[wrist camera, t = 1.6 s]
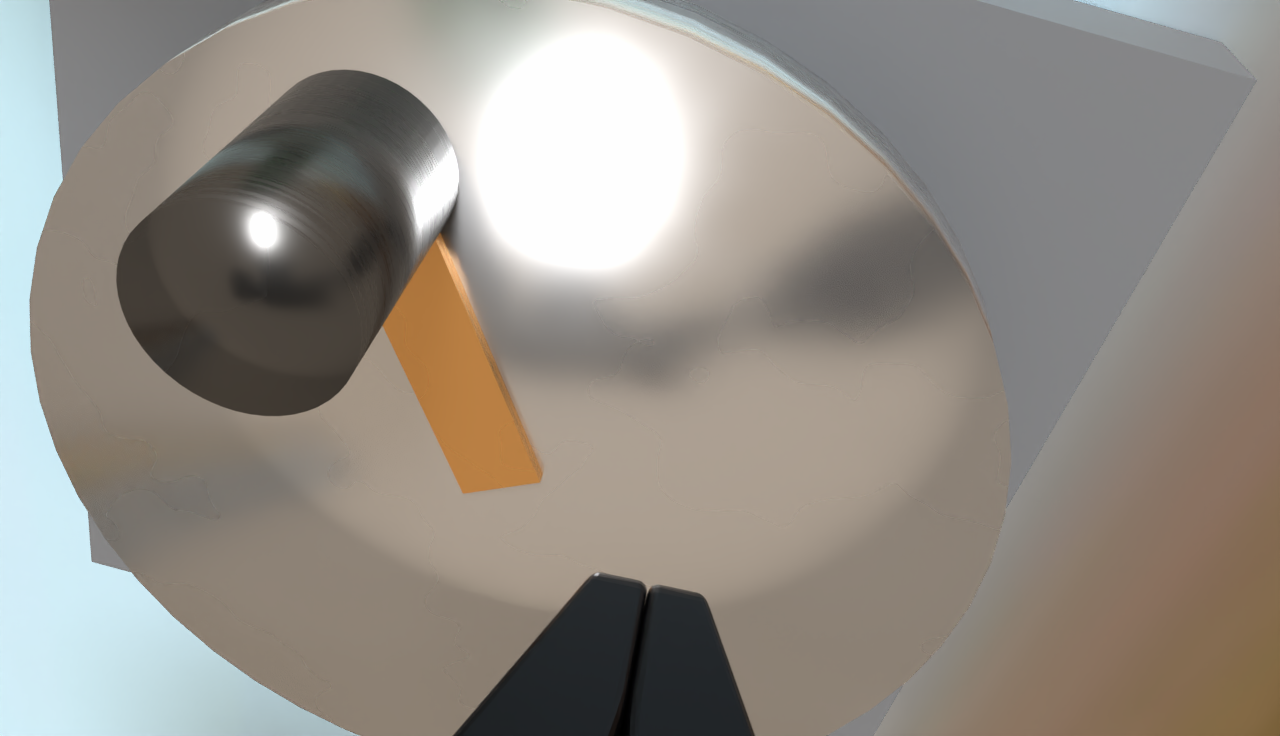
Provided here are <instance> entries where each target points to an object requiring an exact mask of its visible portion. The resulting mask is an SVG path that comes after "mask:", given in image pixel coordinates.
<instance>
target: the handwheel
mask: <svg viewBox="0 0 1280 736" xmlns="http://www.w3.org/2000/svg"><path fill="white" fill-rule="evenodd" d="M30 337H31V355H32V360H33V366H34V371H35V377H36V382H37V388H38V393H39V399H40V403H41V406H42V409H43V412H44V415H45V418H46V421H47V424H48V427H49V430H50V433H51V436H52V439H53V442H54V445H55V448H56V451H57V453H58V455H59V457H60V459H61V461H62V463H63V466H64V468H65V470H66V472H67V474H68V476H69V478H70V480H71V482H72V484H73V486H74V488H75V491H76V493H77V495H78V497H79V498H80V500H81V501H82V503H83V504H84V506H85V508H86V509H87V511H88V512H89V514H90V516H91V517H92V519H93V520H94V522H95V523H96V525H97V527H98V528H99V530H100V531H101V533H102V534H103V536H104V538H105V539H106V541H107V542H108V543H109V544H110V546H111V547H112V548H113V549H114V551H115V552H116V553H117V554H118V556H119V557H120V558H121V559H122V561H123V562H124V563H125V564H126V566H127V567H128V568H129V569H130V571H131V572H132V573H133V574H134V576H135V577H136V578H137V580H138V581H139V582H140V583H141V584H142V585H143V586H144V587H145V588H146V589H147V590H148V591H149V592H150V593H151V594H152V595H153V596H154V597H155V598H156V599H157V600H158V601H159V602H160V603H161V604H162V605H163V606H164V607H165V608H166V609H167V610H168V612H169V613H170V614H171V615H172V616H173V617H174V618H176V619H177V620H178V621H179V622H180V623H181V624H183V625H184V626H185V627H186V628H187V629H188V630H190V631H191V632H192V633H193V634H194V635H195V636H197V637H198V638H199V639H200V640H201V641H202V642H204V643H205V644H206V645H207V646H208V647H209V648H211V649H212V650H213V651H214V652H216V653H217V654H219V655H220V656H221V657H223V658H224V659H226V660H227V661H228V662H230V663H231V664H233V665H234V666H235V667H237V668H238V669H240V670H241V671H242V672H244V673H245V674H247V675H248V676H249V677H251V678H252V679H254V680H255V681H257V682H258V683H260V684H262V685H263V686H265V687H267V688H268V689H270V690H272V691H273V692H275V693H277V694H278V695H280V696H282V697H283V698H285V699H287V700H289V701H290V702H292V703H294V704H295V705H297V706H299V707H300V708H303V709H305V710H307V711H309V712H311V713H313V714H315V715H317V716H319V717H321V718H323V719H325V720H327V721H329V722H331V723H333V724H335V725H337V726H339V727H341V728H343V729H345V730H348V731H350V732H353V733H355V734H358V735H360V736H453V734H454V733H455V732H456V731H457V730H458V729H459V727H460V726H461V725H462V724H463V723H464V722H465V720H466V719H467V718H468V717H469V716H470V715H471V713H472V712H473V711H474V710H475V709H476V708H477V706H478V705H479V704H480V703H481V702H482V701H483V699H484V698H485V697H486V696H487V695H488V694H489V692H490V691H491V690H492V689H493V688H494V687H495V685H496V684H497V683H498V682H499V681H500V680H501V678H502V677H503V676H504V675H505V674H506V673H507V671H508V670H509V669H510V668H511V667H512V666H513V664H514V663H515V662H516V661H517V660H518V659H519V657H520V656H521V655H522V654H523V653H524V652H525V650H526V649H527V648H528V647H529V646H530V645H531V643H532V642H533V641H534V640H535V639H536V638H537V636H538V635H539V634H540V633H541V632H542V631H543V629H544V628H545V627H546V626H547V625H548V624H549V622H550V621H551V620H552V619H553V618H554V616H555V615H556V614H557V613H558V612H559V611H560V609H561V608H562V607H563V606H564V605H565V604H566V602H567V601H568V600H569V599H570V598H571V597H572V595H573V594H574V593H575V592H576V591H577V590H578V588H579V587H580V586H581V585H582V584H583V583H584V581H585V580H586V579H587V578H588V577H590V576H591V575H592V574H594V573H598V572H601V573H606V574H611V575H616V576H621V577H626V578H630V579H635V580H639V581H642V582H643V583H644V584H645V586H646V588H647V593H648V590H649V589H650V588H651V587H652V586H654V585H664V586H669V587H674V588H678V589H683V590H688V591H693V592H697V593H700V594H701V595H702V596H704V597H705V599H706V600H707V602H708V604H709V607H710V609H711V612H712V615H713V618H714V621H715V624H716V626H717V629H718V632H719V635H720V638H721V640H722V643H723V646H724V649H725V652H726V655H727V657H728V660H729V663H730V666H731V669H732V672H733V674H734V677H735V680H736V683H737V686H738V688H739V691H740V694H741V697H742V700H743V703H744V705H745V708H746V711H747V714H748V717H749V720H750V722H751V725H752V728H753V731H754V734H755V736H826V735H829V734H830V733H832V732H834V731H835V730H837V729H839V728H840V727H842V726H844V725H845V724H847V723H849V722H851V721H852V720H854V719H856V718H857V717H859V716H861V715H862V714H864V713H866V712H868V711H869V710H871V709H872V708H873V707H875V706H876V705H877V704H878V703H880V702H881V701H882V700H884V699H885V698H886V697H887V696H889V695H890V694H891V693H893V692H894V691H895V690H896V689H898V688H899V687H900V686H902V685H903V684H904V683H905V682H907V681H908V680H909V679H910V678H911V677H912V676H913V675H914V674H915V673H916V672H917V671H918V670H919V669H920V668H921V666H922V665H923V664H924V663H925V662H926V661H927V660H928V659H929V658H930V657H931V656H932V655H933V654H934V653H935V652H936V651H937V650H938V649H939V648H940V647H941V646H942V644H943V643H944V641H945V640H946V639H947V637H948V636H949V634H950V633H951V632H952V630H953V629H954V627H955V626H956V625H957V623H958V622H959V620H960V619H961V618H962V616H963V615H964V613H965V612H966V611H967V609H968V608H969V606H970V604H971V602H972V600H973V598H974V596H975V594H976V592H977V590H978V588H979V586H980V584H981V582H982V580H983V578H984V576H985V574H986V572H987V570H988V568H989V566H990V563H991V560H992V557H993V554H994V550H995V547H996V544H997V540H998V537H999V534H1000V530H1001V527H1002V523H1003V520H1004V517H1005V512H1006V503H1007V495H1008V486H1009V477H1010V469H1011V448H1010V431H1009V414H1008V403H1007V399H1006V395H1005V390H1004V386H1003V382H1002V377H1001V373H1000V369H999V364H998V360H997V356H996V351H995V347H994V343H993V339H992V334H991V330H990V326H989V321H988V317H987V313H986V309H985V304H984V300H983V297H982V294H981V292H980V289H979V287H978V285H977V282H976V280H975V277H974V275H973V272H972V270H971V267H970V265H969V263H968V260H967V258H966V255H965V253H964V250H963V248H962V245H961V243H960V241H959V239H958V238H957V236H956V234H955V233H954V231H953V229H952V228H951V226H950V224H949V223H948V221H947V219H946V218H945V216H944V214H943V213H942V211H941V209H940V208H939V206H938V204H937V203H936V201H935V199H934V198H933V196H932V194H931V193H930V191H929V189H928V188H927V186H926V185H925V184H924V182H923V181H922V180H921V179H920V177H919V176H918V175H917V174H916V173H915V171H914V170H913V169H912V168H911V167H910V165H909V164H908V163H907V162H906V160H905V159H904V158H903V157H902V156H901V154H900V153H899V152H898V151H897V150H896V148H895V147H894V146H893V145H892V143H891V142H890V141H889V140H888V139H887V137H886V136H885V135H884V134H883V133H882V132H881V131H880V130H879V129H878V128H877V127H876V126H875V125H874V124H873V123H872V122H871V121H869V120H868V119H867V118H866V117H865V116H864V115H863V114H862V113H861V112H860V111H858V110H857V109H856V108H855V107H854V106H853V105H852V104H851V103H850V102H849V101H848V100H846V99H845V98H844V97H843V96H842V95H841V94H840V93H839V92H838V91H837V90H836V89H834V88H833V87H832V86H831V85H830V84H829V83H828V82H826V81H825V80H823V79H822V78H820V77H819V76H818V75H816V74H815V73H813V72H812V71H810V70H809V69H807V68H806V67H805V66H803V65H802V64H800V63H799V62H797V61H796V60H794V59H793V58H792V57H790V56H789V55H787V54H786V53H784V52H783V51H781V50H780V49H779V48H777V47H776V46H774V45H773V44H771V43H770V42H768V41H767V40H765V39H763V38H761V37H759V36H757V35H755V34H753V33H751V32H749V31H748V30H746V29H744V28H742V27H740V26H738V25H736V24H734V23H732V22H730V21H728V20H726V19H724V18H722V17H720V16H718V15H716V14H714V13H712V12H710V11H708V10H707V9H705V8H703V7H701V6H699V5H696V4H693V3H691V2H688V1H685V0H265V1H264V2H262V3H260V4H258V5H257V6H255V7H253V8H252V9H250V10H248V11H246V12H245V13H243V14H241V15H239V16H238V17H236V18H234V19H233V20H231V21H229V22H227V23H226V24H224V25H222V26H221V27H219V28H217V29H215V30H214V31H212V32H210V33H209V34H207V35H206V36H205V37H203V38H202V39H200V40H199V41H197V42H196V43H194V44H193V45H191V46H190V47H189V48H187V49H186V50H184V51H183V52H181V53H180V54H178V55H177V56H175V57H174V58H172V59H171V60H170V61H168V62H167V63H165V64H164V65H163V66H162V67H161V68H159V69H158V70H157V71H156V72H155V73H153V74H152V75H151V76H150V77H149V78H147V79H146V80H145V81H144V82H143V83H141V84H140V85H139V86H138V87H137V88H136V89H134V90H133V91H132V92H131V93H130V94H128V95H127V96H126V97H125V98H124V99H122V100H121V101H120V102H119V103H118V104H117V105H116V106H115V107H114V109H113V110H112V111H111V112H110V114H109V115H108V116H107V117H106V118H105V120H104V121H103V122H102V123H101V124H100V126H99V127H98V128H97V129H96V130H95V132H94V133H93V134H92V135H91V137H90V138H89V139H88V140H87V141H86V143H85V144H84V145H83V146H82V147H81V149H80V151H79V152H78V154H77V156H76V158H75V160H74V161H73V163H72V165H71V167H70V169H69V171H68V172H67V174H66V176H65V178H64V180H63V181H62V183H61V185H60V187H59V189H58V190H57V192H56V194H55V196H54V198H53V201H52V204H51V207H50V210H49V213H48V216H47V219H46V222H45V225H44V228H43V231H42V234H41V237H40V240H39V243H38V246H37V251H36V258H35V265H34V272H33V279H32V286H31V293H30ZM646 597H647V595H646Z"/></svg>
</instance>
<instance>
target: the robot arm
mask: <svg viewBox="0 0 1280 736" xmlns="http://www.w3.org/2000/svg"><path fill="white" fill-rule="evenodd" d="M646 595H647V597H646ZM453 736H755V734H754V731H753V728H752V725H751V722H750V720H749V717H748V714H747V711H746V708H745V705H744V703H743V700H742V697H741V694H740V691H739V688H738V686H737V683H736V680H735V677H734V674H733V672H732V669H731V666H730V663H729V660H728V657H727V655H726V652H725V649H724V646H723V643H722V640H721V638H720V635H719V632H718V629H717V626H716V624H715V621H714V618H713V615H712V612H711V609H710V607H709V604H708V602H707V600H706V599H705V597H704V596H702V595H701V594H700V593H697V592H693V591H688V590H683V589H678V588H674V587H669V586H664V585H654V586H652V587H651V588H650V589H649V590H648V593H647V588H646V586H645V584H644V583H643V582H642V581H639V580H635V579H630V578H626V577H621V576H616V575H611V574H606V573H601V572H598V573H594V574H592V575H591V576H590V577H588V578H587V579H586V580H585V581H584V583H583V584H582V585H581V586H580V587H579V588H578V590H577V591H576V592H575V593H574V594H573V595H572V597H571V598H570V599H569V600H568V601H567V602H566V604H565V605H564V606H563V607H562V608H561V609H560V611H559V612H558V613H557V614H556V615H555V616H554V618H553V619H552V620H551V621H550V622H549V624H548V625H547V626H546V627H545V628H544V629H543V631H542V632H541V633H540V634H539V635H538V636H537V638H536V639H535V640H534V641H533V642H532V643H531V645H530V646H529V647H528V648H527V649H526V650H525V652H524V653H523V654H522V655H521V656H520V657H519V659H518V660H517V661H516V662H515V663H514V664H513V666H512V667H511V668H510V669H509V670H508V671H507V673H506V674H505V675H504V676H503V677H502V678H501V680H500V681H499V682H498V683H497V684H496V685H495V687H494V688H493V689H492V690H491V691H490V692H489V694H488V695H487V696H486V697H485V698H484V699H483V701H482V702H481V703H480V704H479V705H478V706H477V708H476V709H475V710H474V711H473V712H472V713H471V715H470V716H469V717H468V718H467V719H466V720H465V722H464V723H463V724H462V725H461V726H460V727H459V729H458V730H457V731H456V732H455V733H454V734H453Z"/></svg>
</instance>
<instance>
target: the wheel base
mask: <svg viewBox="0 0 1280 736" xmlns="http://www.w3.org/2000/svg"><path fill="white" fill-rule="evenodd" d="M264 1H265V0H49V2H50V15H51V28H52V41H53V55H54V68H55V81H56V94H57V108H58V121H59V134H60V148H61V161H62V174H63V180H64V178H65V176H66V174H67V172H68V171H69V169H70V167H71V165H72V163H73V161H74V160H75V158H76V156H77V154H78V152H79V151H80V149H81V147H82V146H83V145H84V144H85V143H86V141H87V140H88V139H89V138H90V137H91V135H92V134H93V133H94V132H95V130H96V129H97V128H98V127H99V126H100V124H101V123H102V122H103V121H104V120H105V118H106V117H107V116H108V115H109V114H110V112H111V111H112V110H113V109H114V107H115V106H116V105H117V104H118V103H119V102H120V101H121V100H122V99H124V98H125V97H126V96H127V95H128V94H130V93H131V92H132V91H133V90H134V89H136V88H137V87H138V86H139V85H140V84H141V83H143V82H144V81H145V80H146V79H147V78H149V77H150V76H151V75H152V74H153V73H155V72H156V71H157V70H158V69H159V68H161V67H162V66H163V65H164V64H165V63H167V62H168V61H170V60H171V59H172V58H174V57H175V56H177V55H178V54H180V53H181V52H183V51H184V50H186V49H187V48H189V47H190V46H191V45H193V44H194V43H196V42H197V41H199V40H200V39H202V38H203V37H205V36H206V35H207V34H209V33H210V32H212V31H214V30H215V29H217V28H219V27H221V26H222V25H224V24H226V23H227V22H229V21H231V20H233V19H234V18H236V17H238V16H239V15H241V14H243V13H245V12H246V11H248V10H250V9H252V8H253V7H255V6H257V5H258V4H260V3H262V2H264ZM685 1H688V2H691V3H693V4H696V5H699V6H701V7H703V8H705V9H707V10H708V11H710V12H712V13H714V14H716V15H718V16H720V17H722V18H724V19H726V20H728V21H730V22H732V23H734V24H736V25H738V26H740V27H742V28H744V29H746V30H748V31H749V32H751V33H753V34H755V35H757V36H759V37H761V38H763V39H765V40H767V41H768V42H770V43H771V44H773V45H774V46H776V47H777V48H779V49H780V50H781V51H783V52H784V53H786V54H787V55H789V56H790V57H792V58H793V59H794V60H796V61H797V62H799V63H800V64H802V65H803V66H805V67H806V68H807V69H809V70H810V71H812V72H813V73H815V74H816V75H818V76H819V77H820V78H822V79H823V80H825V81H826V82H828V83H829V84H830V85H831V86H832V87H833V88H834V89H836V90H837V91H838V92H839V93H840V94H841V95H842V96H843V97H844V98H845V99H846V100H848V101H849V102H850V103H851V104H852V105H853V106H854V107H855V108H856V109H857V110H858V111H860V112H861V113H862V114H863V115H864V116H865V117H866V118H867V119H868V120H869V121H871V122H872V123H873V124H874V125H875V126H876V127H877V128H878V129H879V130H880V131H881V132H882V133H883V134H884V135H885V136H886V137H887V139H888V140H889V141H890V142H891V143H892V145H893V146H894V147H895V148H896V150H897V151H898V152H899V153H900V154H901V156H902V157H903V158H904V159H905V160H906V162H907V163H908V164H909V165H910V167H911V168H912V169H913V170H914V171H915V173H916V174H917V175H918V176H919V177H920V179H921V180H922V181H923V182H924V184H925V185H926V186H927V188H928V189H929V191H930V193H931V194H932V196H933V198H934V199H935V201H936V203H937V204H938V206H939V208H940V209H941V211H942V213H943V214H944V216H945V218H946V219H947V221H948V223H949V224H950V226H951V228H952V229H953V231H954V233H955V234H956V236H957V238H958V239H959V241H960V243H961V245H962V248H963V250H964V253H965V255H966V258H967V260H968V263H969V265H970V267H971V270H972V272H973V275H974V277H975V280H976V282H977V285H978V287H979V289H980V292H981V294H982V297H983V300H984V304H985V309H986V313H987V317H988V321H989V326H990V330H991V334H992V339H993V343H994V347H995V351H996V356H997V360H998V364H999V369H1000V373H1001V377H1002V382H1003V386H1004V390H1005V395H1006V399H1007V403H1008V414H1009V431H1010V448H1011V469H1010V477H1009V486H1008V495H1007V503H1006V508H1007V507H1008V505H1009V503H1010V502H1011V500H1012V498H1013V496H1014V495H1015V493H1016V491H1017V490H1018V488H1019V486H1020V485H1021V483H1022V481H1023V479H1024V478H1025V476H1026V474H1027V473H1028V471H1029V469H1030V467H1031V466H1032V464H1033V462H1034V461H1035V459H1036V457H1037V455H1038V454H1039V452H1040V450H1041V449H1042V447H1043V445H1044V443H1045V442H1046V440H1047V438H1048V437H1049V435H1050V433H1051V432H1052V430H1053V428H1054V426H1055V425H1056V423H1057V421H1058V420H1059V418H1060V416H1061V414H1062V413H1063V411H1064V409H1065V408H1066V406H1067V404H1068V402H1069V401H1070V399H1071V397H1072V396H1073V394H1074V392H1075V390H1076V389H1077V387H1078V385H1079V384H1080V382H1081V380H1082V379H1083V377H1084V375H1085V373H1086V372H1087V370H1088V368H1089V367H1090V365H1091V363H1092V361H1093V360H1094V358H1095V356H1096V355H1097V353H1098V351H1099V349H1100V348H1101V346H1102V344H1103V343H1104V341H1105V339H1106V337H1107V336H1108V334H1109V332H1110V331H1111V329H1112V327H1113V326H1114V324H1115V322H1116V320H1117V319H1118V317H1119V315H1120V314H1121V312H1122V310H1123V308H1124V307H1125V305H1126V303H1127V302H1128V300H1129V298H1130V296H1131V295H1132V293H1133V291H1134V290H1135V288H1136V286H1137V284H1138V283H1139V281H1140V279H1141V278H1142V276H1143V274H1144V273H1145V271H1146V269H1147V267H1148V266H1149V264H1150V262H1151V261H1152V259H1153V257H1154V255H1155V254H1156V252H1157V250H1158V249H1159V247H1160V245H1161V243H1162V242H1163V240H1164V238H1165V237H1166V235H1167V233H1168V231H1169V230H1170V228H1171V226H1172V225H1173V223H1174V221H1175V220H1176V218H1177V216H1178V214H1179V213H1180V211H1181V209H1182V208H1183V206H1184V204H1185V202H1186V201H1187V199H1188V197H1189V196H1190V194H1191V192H1192V190H1193V189H1194V187H1195V185H1196V184H1197V182H1198V180H1199V178H1200V177H1201V175H1202V173H1203V172H1204V170H1205V168H1206V167H1207V165H1208V163H1209V161H1210V160H1211V158H1212V156H1213V155H1214V153H1215V151H1216V149H1217V148H1218V146H1219V144H1220V143H1221V141H1222V139H1223V137H1224V136H1225V134H1226V132H1227V131H1228V129H1229V127H1230V125H1231V124H1232V122H1233V120H1234V119H1235V117H1236V115H1237V114H1238V112H1239V110H1240V108H1241V107H1242V105H1243V103H1244V102H1245V100H1246V98H1247V96H1248V95H1249V93H1250V91H1251V90H1252V88H1253V86H1254V84H1255V83H1256V81H1257V80H1256V79H1255V77H1254V76H1253V75H1252V74H1251V73H1250V72H1249V71H1248V70H1247V69H1246V68H1245V67H1244V66H1243V64H1242V63H1241V62H1240V61H1239V60H1238V59H1237V58H1236V57H1235V56H1234V55H1233V54H1232V53H1231V52H1230V50H1229V49H1228V48H1227V47H1226V46H1225V45H1224V44H1223V43H1222V42H1218V41H1215V40H1211V39H1208V38H1204V37H1201V36H1197V35H1194V34H1190V33H1187V32H1183V31H1180V30H1176V29H1173V28H1169V27H1166V26H1162V25H1159V24H1155V23H1152V22H1148V21H1145V20H1141V19H1138V18H1134V17H1131V16H1127V15H1124V14H1120V13H1117V12H1113V11H1110V10H1106V9H1103V8H1099V7H1096V6H1092V5H1089V4H1085V3H1082V2H1078V1H1075V0H685ZM88 519H89V532H90V545H91V559H92V562H95V563H99V564H102V565H106V566H110V567H114V568H117V569H121V570H125V571H128V572H131V571H130V569H129V568H128V567H127V566H126V564H125V563H124V562H123V561H122V559H121V558H120V557H119V556H118V554H117V553H116V552H115V551H114V549H113V548H112V547H111V546H110V544H109V543H108V542H107V541H106V539H105V538H104V536H103V534H102V533H101V531H100V530H99V528H98V527H97V525H96V523H95V522H94V520H93V519H92V517H91V516H90V514H89V512H88ZM903 685H904V684H903ZM903 685H902V686H903ZM902 686H900V687H899V688H898V689H896V690H895V691H894V692H893V693H891V694H890V695H889V696H887V697H886V698H885V699H884V700H882V701H881V702H880V703H878V704H877V705H876V706H875V707H873V708H872V709H871V710H869V711H868V712H866V713H864V714H862V715H861V716H859V717H857V718H856V719H854V720H852V721H851V722H849V723H847V724H845V725H844V726H842V727H840V728H839V729H837V730H835V731H834V732H832V733H830V734H829V735H826V736H874V734H875V732H876V731H877V729H878V727H879V726H880V724H881V722H882V720H883V719H884V717H885V715H886V714H887V712H888V710H889V708H890V707H891V705H892V703H893V702H894V700H895V698H896V697H897V695H898V693H899V691H900V690H901V688H902Z"/></svg>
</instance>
